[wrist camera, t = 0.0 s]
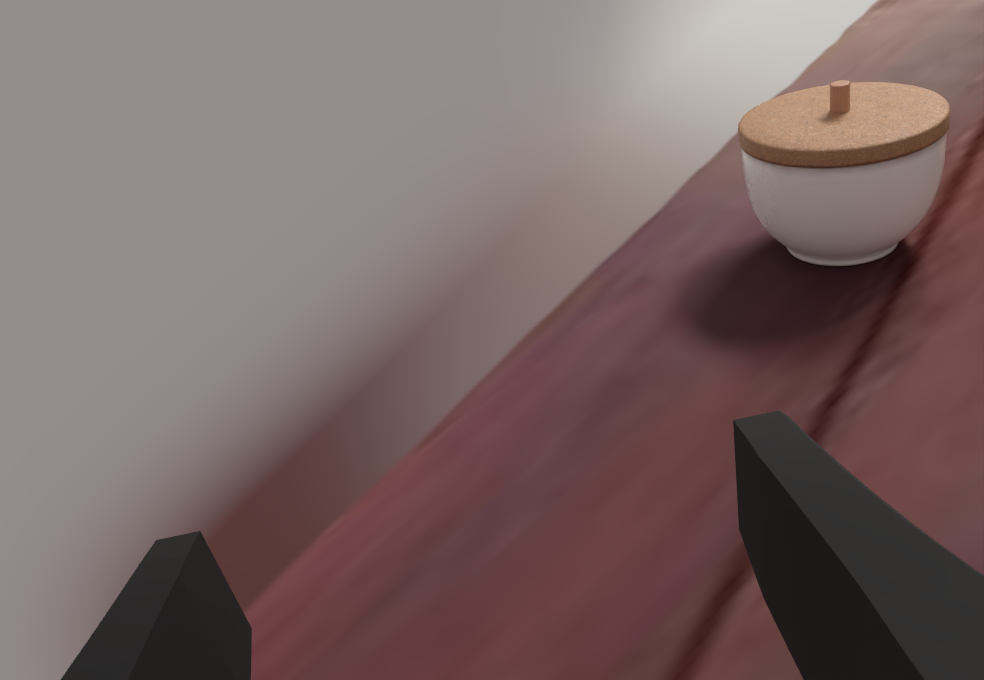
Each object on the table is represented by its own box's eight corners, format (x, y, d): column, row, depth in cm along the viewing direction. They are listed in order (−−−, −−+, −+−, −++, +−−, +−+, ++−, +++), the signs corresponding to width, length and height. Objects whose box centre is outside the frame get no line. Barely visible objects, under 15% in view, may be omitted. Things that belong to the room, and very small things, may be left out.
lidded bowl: (836, 307, 56) (833, 133, 51) (709, 246, 67) (696, 96, 61) (988, 238, 60) (1001, 68, 55) (845, 190, 70) (844, 43, 65)
